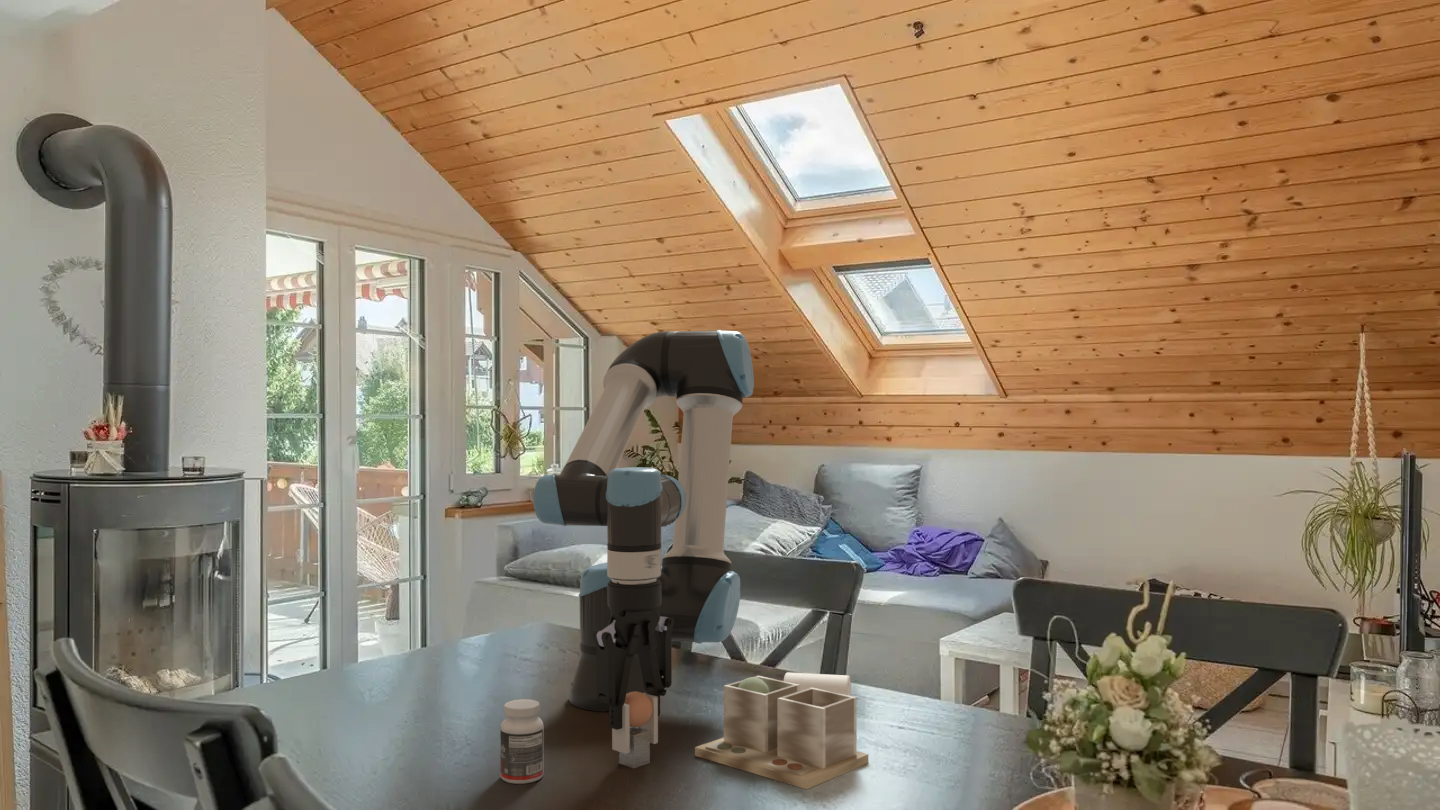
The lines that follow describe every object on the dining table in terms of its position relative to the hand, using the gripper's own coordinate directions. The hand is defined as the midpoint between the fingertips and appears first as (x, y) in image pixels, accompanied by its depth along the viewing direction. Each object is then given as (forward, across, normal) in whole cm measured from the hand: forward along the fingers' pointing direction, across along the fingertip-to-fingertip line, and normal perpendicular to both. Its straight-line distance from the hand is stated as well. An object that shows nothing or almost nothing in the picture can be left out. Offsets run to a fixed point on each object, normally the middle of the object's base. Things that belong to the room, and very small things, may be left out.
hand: (635, 745), depth 152 cm
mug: (+3, +33, -7) cm, 34 cm away
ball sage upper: (-5, +16, -8) cm, 19 cm away
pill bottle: (+2, -14, +7) cm, 16 cm away
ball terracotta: (-5, 0, 0) cm, 5 cm away
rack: (+2, +15, -14) cm, 21 cm away
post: (+2, 0, 0) cm, 2 cm away
